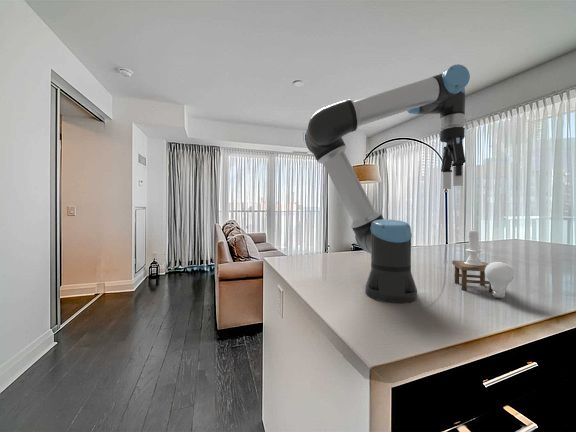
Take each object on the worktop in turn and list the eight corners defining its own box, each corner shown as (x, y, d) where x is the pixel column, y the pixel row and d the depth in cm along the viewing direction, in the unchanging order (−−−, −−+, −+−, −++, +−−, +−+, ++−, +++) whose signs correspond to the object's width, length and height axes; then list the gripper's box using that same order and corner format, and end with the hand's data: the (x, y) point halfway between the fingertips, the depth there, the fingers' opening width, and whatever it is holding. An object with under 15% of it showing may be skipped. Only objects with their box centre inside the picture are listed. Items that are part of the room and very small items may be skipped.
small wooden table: (461, 290, 81) (461, 266, 81) (452, 282, 90) (452, 260, 90) (498, 293, 78) (498, 268, 77) (485, 284, 87) (485, 262, 87)
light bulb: (508, 296, 75) (508, 260, 75) (517, 304, 69) (518, 265, 69) (481, 293, 78) (481, 259, 78) (488, 300, 72) (488, 263, 72)
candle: (462, 262, 87) (462, 228, 87) (480, 263, 85) (480, 228, 85) (466, 265, 82) (466, 229, 82) (486, 266, 80) (486, 229, 80)
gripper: (477, 115, 77) (477, 183, 78) (453, 137, 101) (453, 189, 101) (449, 118, 80) (449, 184, 80) (433, 139, 103) (432, 190, 104)
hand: (451, 187), depth 91 cm, fingers open, 13 cm apart
